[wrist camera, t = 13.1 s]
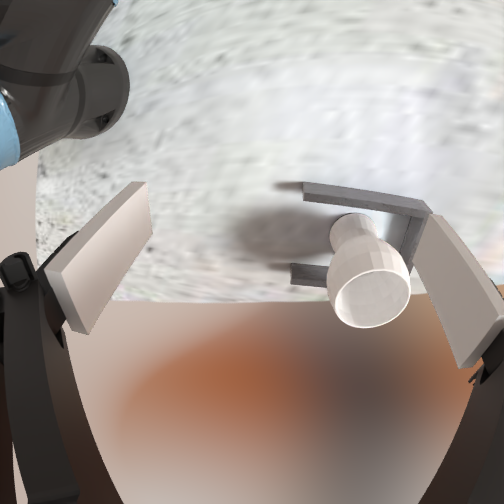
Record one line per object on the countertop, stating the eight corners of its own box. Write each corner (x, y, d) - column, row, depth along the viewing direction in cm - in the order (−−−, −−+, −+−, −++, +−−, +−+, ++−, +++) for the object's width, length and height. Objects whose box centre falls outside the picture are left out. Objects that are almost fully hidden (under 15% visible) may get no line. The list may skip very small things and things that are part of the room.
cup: (355, 272, 48) (371, 341, 36) (306, 241, 46) (310, 310, 34) (397, 228, 43) (430, 291, 30) (349, 190, 40) (374, 247, 28)
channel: (290, 268, 49) (290, 284, 46) (303, 181, 41) (304, 192, 37) (395, 278, 48) (401, 293, 45) (422, 200, 39) (432, 212, 36)
